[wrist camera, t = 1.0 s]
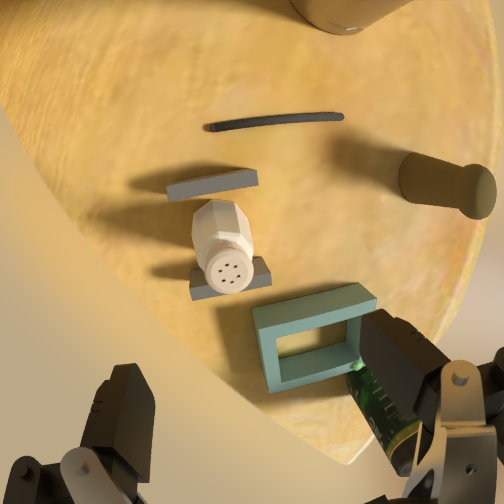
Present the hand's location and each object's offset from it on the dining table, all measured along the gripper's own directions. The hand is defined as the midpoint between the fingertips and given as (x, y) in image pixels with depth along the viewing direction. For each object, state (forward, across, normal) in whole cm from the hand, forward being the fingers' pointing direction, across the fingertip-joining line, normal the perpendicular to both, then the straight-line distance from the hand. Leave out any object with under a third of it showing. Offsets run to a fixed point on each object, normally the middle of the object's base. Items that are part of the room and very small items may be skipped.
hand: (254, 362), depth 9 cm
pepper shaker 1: (+18, 0, 0) cm, 19 cm away
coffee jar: (+19, -17, +25) cm, 35 cm away
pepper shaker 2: (+18, -23, -2) cm, 29 cm away
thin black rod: (+18, -7, -9) cm, 22 cm away
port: (+18, -8, +14) cm, 24 cm away
